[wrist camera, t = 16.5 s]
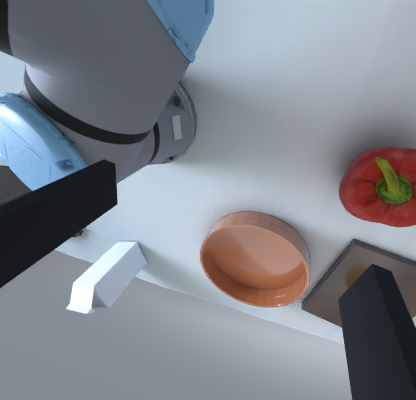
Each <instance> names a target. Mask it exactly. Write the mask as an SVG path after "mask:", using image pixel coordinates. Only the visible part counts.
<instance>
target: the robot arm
mask: <svg viewBox="0 0 416 400" xmlns="http://www.w3.org/2000/svg"><path fill="white" fill-rule="evenodd" d="M213 13H214V0H0V51H2V52H4V53H7V54H9V55H11V56H14V57H15V58H17V59H20V60H22V61H24V62H25V74H24V83H23V90H22V91H21V93H19V94H13V93H2V94H1V95H0V155H1V156H2V158H3V159H4V161H5V162H6V164H7V165H8V166H9V167H10V169H11V170H12V171H13V172H14V173H15V174H16V175H17V177H18V178H19V179H20V180H21V181H22V182H23V183H24V184H25V185H26V186H28V187H29V188H30V189H31V190H32V191H29V192H25V193H21V194H17V195H14V196H11V197H9V198H7V199H4V200H2V201H1V202H0V288H1V287H2V286H4V285H5V284H6V283H8V282H9V281H11V280H12V279H13V278H15V277H16V276H18V275H19V274H20V273H22V272H23V271H25V270H26V269H28V268H29V267H30V266H32V265H33V264H35V263H36V262H37V261H39V260H40V259H42V258H43V257H44V256H46V255H47V254H49V253H50V252H51V251H53V250H54V249H55V248H57V247H58V246H60V245H61V244H62V243H64V242H65V241H67V240H68V239H69V238H71V237H72V236H74V235H75V234H76V233H78V232H79V231H81V230H82V229H83V228H85V227H86V226H88V225H89V224H90V223H92V222H93V221H95V220H96V219H97V218H99V217H100V216H102V215H103V214H104V213H106V212H107V211H108V210H110V209H111V208H113V207H114V206H115V205H117V185H116V184H117V183H118V182H120V181H122V180H123V179H125V178H127V177H128V176H130V175H131V174H133V173H135V172H136V171H138V170H140V169H141V168H143V167H144V166H146V165H152V164H164V163H169V162H172V161H174V160H176V159H178V158H179V157H181V156H182V155H183V154H185V153H186V151H187V150H188V149H189V148H190V146H191V144H192V142H193V140H194V136H195V131H196V117H195V111H194V108H193V104H192V102H191V100H190V98H189V96H188V94H187V92H186V91H185V89H184V88H183V87H182V86H181V84H180V83H179V81H180V80H181V78H182V76H183V75H184V73H185V71H186V69H187V68H188V66H189V64H190V63H193V61H194V59H195V53H196V51H197V49H198V47H199V45H200V43H201V41H202V39H203V37H204V35H205V33H206V31H207V29H208V27H209V25H210V23H211V21H212V17H213ZM338 302H339V309H340V316H341V323H342V330H343V337H344V344H345V350H346V358H347V365H348V372H349V379H350V386H351V394H352V400H416V328H415V325H414V323H413V320H412V318H411V316H410V313H409V311H408V309H407V306H406V304H405V302H404V299H403V297H402V295H401V292H400V290H399V288H398V285H397V283H396V281H395V278H394V276H393V273H392V271H390V270H388V269H385V268H382V267H380V266H377V265H375V264H371V265H370V266H369V267H368V268H367V269H366V270H365V272H364V273H363V274H362V275H361V276H360V277H359V278H358V279H357V280H356V281H355V282H354V283H353V284H352V285H351V286H350V287H349V288H348V289H347V290H346V291H345V292H344V294H343V295H342V296H341V297H340V298H339V299H338Z"/></svg>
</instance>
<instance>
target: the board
mask: <svg viewBox="0 0 416 400" xmlns="http://www.w3.org/2000/svg"><path fill="white" fill-rule="evenodd" d="M371 264H375V265H377V266H380V267H382V268H385V269H388V270H390V271H392V273H393V276H394V278H395V281H396V283H397V285H398V288H399V290H400V292H401V295H402V297H403V299H404V302H405V304H406V306H407V309H408V311H409V313H410V316H411V318H413V317H414V316H416V262H413V261H411V260H408V259H405V258H403V257H400V256H397V255H395V254H392V253H389V252H387V251H384V250H381V249H379V248H376V247H373V246H371V245H368V244H365V243H363V242H360V241H357V240H355V239H353V241H352V242H351V243H350V244H349V245H348V247H347V248H346V249H345V250H344V252H343V253H342V254H341V255H340V257H339V258H338V259H337V260H336V262H335V263H334V264H333V265H332V267H331V268H330V269H329V270H328V272H327V273H326V274H325V275H324V277H323V278H322V279H321V280H320V282H319V283H318V284H317V285H316V287H315V288H314V289H313V290H312V292H311V293H310V294H309V295H308V297H307V298H306V299H305V300H304V302H303V303H302V310H305V311H307V312H309V313H311V314H313V315H316V316H318V317H320V318H322V319H324V320H327V321H329V322H331V323H333V324H335V325H338V326H340V327H342V323H341V316H340V309H339V302H338V299H339V298H340V297H341V296H342V295H343V294H344V292H345V291H346V290H347V289H348V288H349V287H350V286H351V285H352V284H353V283H354V282H355V281H356V280H357V279H358V278H359V277H360V276H361V275H362V274H363V273H364V272H365V270H366V269H367V268H368V267H369V266H370V265H371Z"/></svg>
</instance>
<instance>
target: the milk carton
mask: <svg viewBox="0 0 416 400" xmlns="http://www.w3.org/2000/svg"><path fill="white" fill-rule="evenodd" d="M146 263H147V261H146V259H145V257H144V255H143V253H142V251H141V249H140V247H139V245H138V243H137V242H117V243H116V244H115V245H114V246H113V247H112V248H111V249H110V250H109V251H107V252H106V253H105V254H104V255H103V256H102V257H101V258H100V259H99V260H98V261H97V262H96V263H94V264H93V265H92V266H91V267H90V268H89V269H88V270H87V271H86V272H85V273H84V274H83V275H81V276H80V277H79V278H78V279H77V280H76V281H75V282H74V283H73V288H72V294H71V301H70V305H69V306H68V307H67V308H66V309H68V310H72V311H77V312H80V313H85V314H88V313H94V310H95V309H105V308H109V307H110V306H111V305H112V304H113V303H114V301H115V300H116V299H117V298H118V296H119V295H120V294H121V293H122V292H123V291H124V289H125V288H126V287H127V285H128V284H129V283H130V282H131V281H132V280H133V278H134V277H135V276H136V275H137V274H138V272H139V271H140V270H141V269H142V267H143V266H144V265H145V264H146Z"/></svg>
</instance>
